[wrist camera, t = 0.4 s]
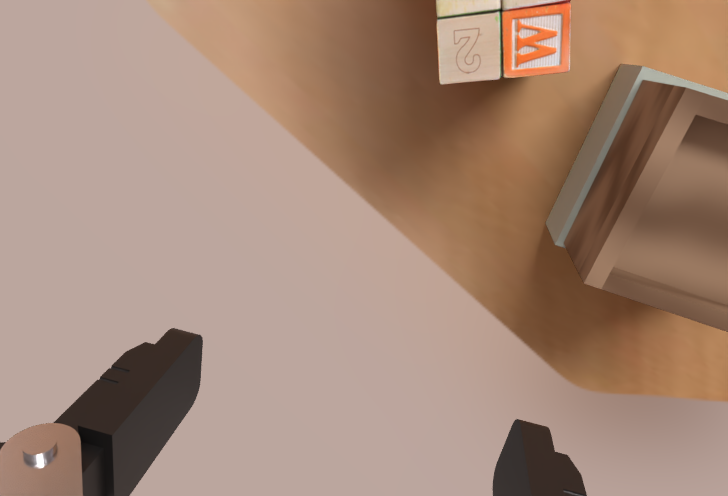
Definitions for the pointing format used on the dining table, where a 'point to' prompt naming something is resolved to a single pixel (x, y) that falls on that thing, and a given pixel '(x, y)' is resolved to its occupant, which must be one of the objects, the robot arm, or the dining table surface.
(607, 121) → the tower base
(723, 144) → the wooden box
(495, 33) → the stack of blocks
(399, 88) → the dining table surface
